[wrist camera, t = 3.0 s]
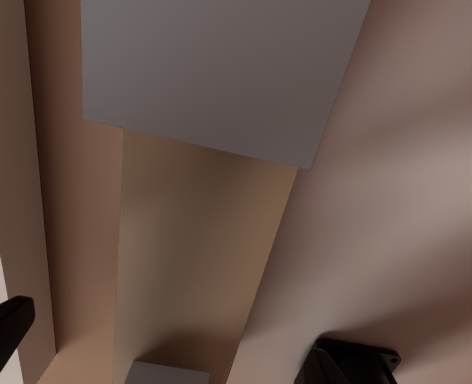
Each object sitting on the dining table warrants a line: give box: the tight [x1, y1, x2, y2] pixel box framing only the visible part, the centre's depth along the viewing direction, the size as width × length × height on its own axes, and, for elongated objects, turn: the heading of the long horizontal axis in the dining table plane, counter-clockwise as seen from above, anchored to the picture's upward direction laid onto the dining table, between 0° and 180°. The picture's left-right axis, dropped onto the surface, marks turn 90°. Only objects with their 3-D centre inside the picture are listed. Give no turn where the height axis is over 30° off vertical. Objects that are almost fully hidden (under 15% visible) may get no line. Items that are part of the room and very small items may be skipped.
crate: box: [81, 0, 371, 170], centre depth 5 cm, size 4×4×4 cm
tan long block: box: [112, 129, 298, 384], centre depth 13 cm, size 6×24×5 cm, turn 167°
